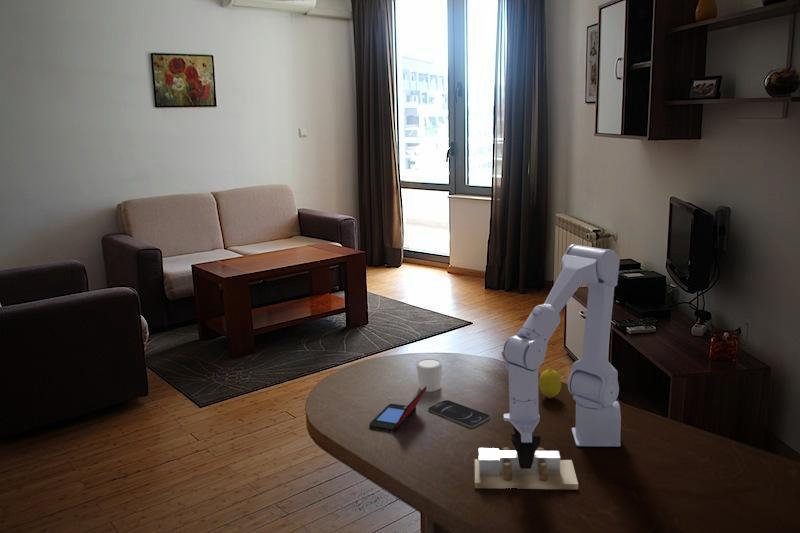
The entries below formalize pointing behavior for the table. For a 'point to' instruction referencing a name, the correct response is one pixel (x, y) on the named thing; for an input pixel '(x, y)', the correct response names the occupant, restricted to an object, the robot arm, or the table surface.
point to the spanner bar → (515, 462)
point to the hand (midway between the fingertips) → (524, 457)
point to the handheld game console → (395, 415)
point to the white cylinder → (429, 374)
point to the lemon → (550, 383)
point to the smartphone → (459, 413)
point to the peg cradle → (530, 477)
